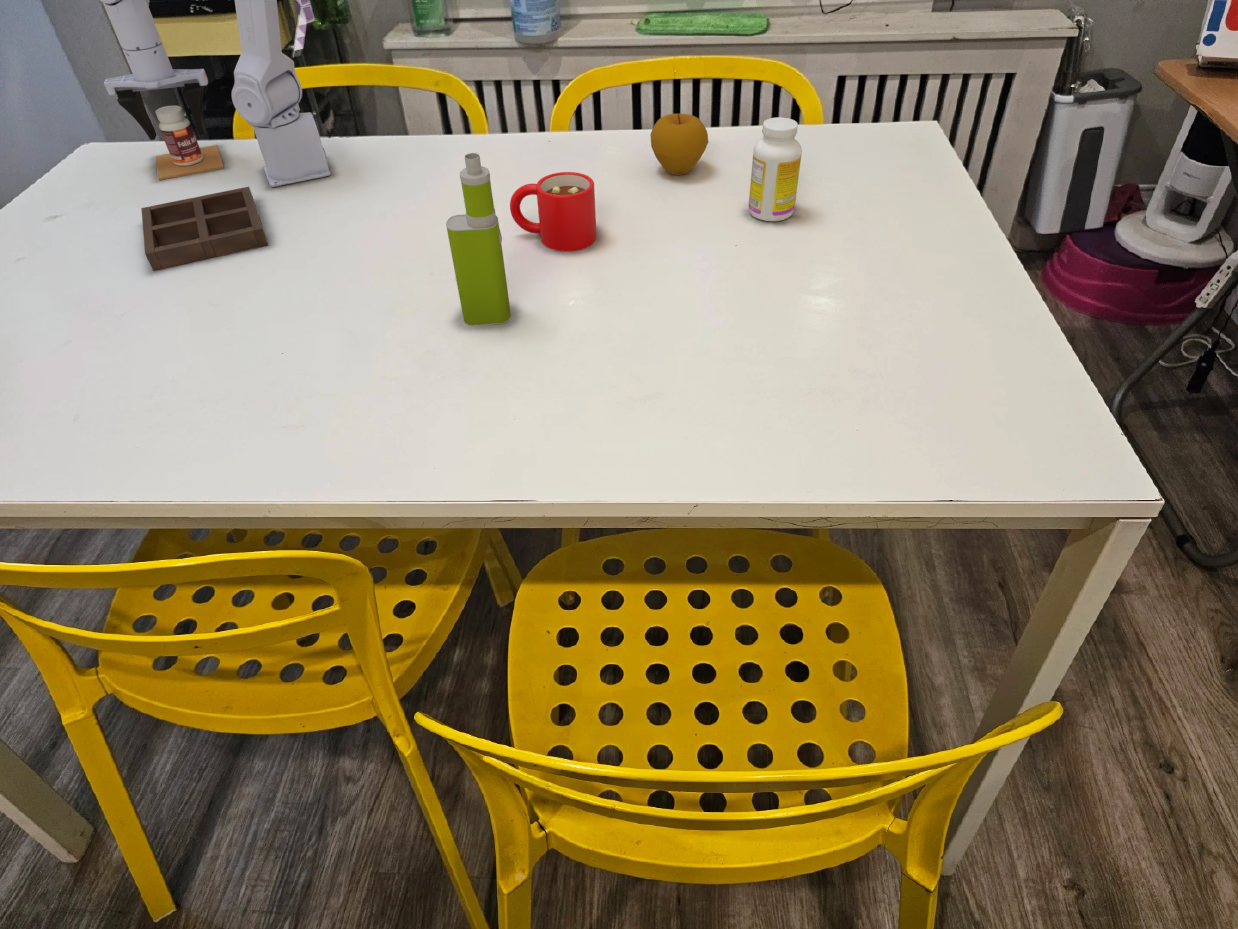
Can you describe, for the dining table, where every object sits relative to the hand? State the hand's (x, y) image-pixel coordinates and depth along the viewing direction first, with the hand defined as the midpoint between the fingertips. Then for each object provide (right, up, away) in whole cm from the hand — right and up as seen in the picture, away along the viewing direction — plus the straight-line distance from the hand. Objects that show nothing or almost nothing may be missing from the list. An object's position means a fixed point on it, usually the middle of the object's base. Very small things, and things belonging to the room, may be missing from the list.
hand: (178, 134), depth 130 cm
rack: (+13, -21, -15) cm, 29 cm away
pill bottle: (0, -3, +3) cm, 5 cm away
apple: (+82, -7, -3) cm, 83 cm away
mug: (+64, -22, -18) cm, 70 cm away
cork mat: (0, -3, +3) cm, 5 cm away
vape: (+56, -36, -32) cm, 74 cm away
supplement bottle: (+95, -18, -14) cm, 98 cm away
